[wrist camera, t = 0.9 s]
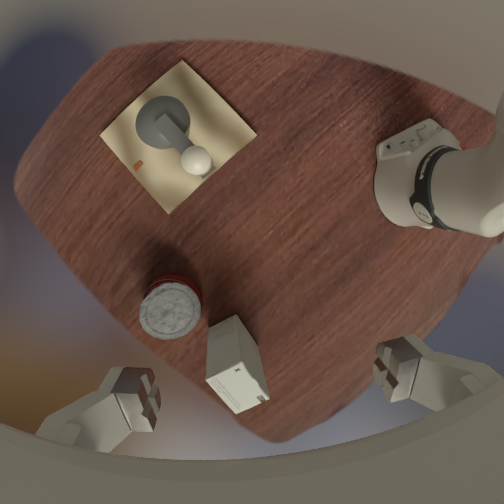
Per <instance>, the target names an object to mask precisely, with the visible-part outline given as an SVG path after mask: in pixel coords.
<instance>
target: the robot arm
mask: <svg viewBox="0 0 504 504" xmlns="http://www.w3.org/2000/svg"><path fill="white" fill-rule="evenodd" d="M463 144H464V146H463V145H462V144H461V143H460V144H459V142H458V141H457V139H456V138H455V137H454V135H453V134H452V133H451V132H449V131H448V130H446V129H444V128H442V127H441V126H440V125H439V124H438V123H436V122H435V121H434V120H432V119H425V120H423V121H421V122H419V123H417V124H415V125H413V126H411V127H409V128H407V129H405V130H403V131H401V132H400V133H398V134H396V135H394V136H392V137H390V138H388V139H386V140H384V141H382V142H380V143H379V144H378V145H377V146H376V156H377V168H376V172H375V178H374V190H375V196H376V200H377V203H378V205H379V207H380V209H381V211H382V212H383V214H384V215H385V216H386V217H387V218H388V219H389V220H390V221H391V222H393V223H395V224H397V225H400V226H405V227H408V226H420V227H422V228H426V229H431V228H432V227H437V228H440V229H445V230H447V231H460V230H462V231H466V232H470V233H473V234H477V235H481V236H485V237H494V236H497V235H499V234H500V233H502V232H503V231H504V92H503V94H502V96H501V98H500V100H499V103H498V106H497V110H496V115H495V131H494V136H493V138H492V140H491V141H490V142H489V143H488V144H487V145H485V146H482V147H478V148H472V149H468V148H467V146H466V145H465V143H463ZM387 145H388V146H389V149H388V148H387ZM375 353H376V354H377V356H378V358H377V359H376V360H375V362H374V366H373V374H374V378H375V381H376V382H377V384H378V385H379V386H382V387H384V390H383V393H384V394H385V396H386V397H387V399H388V400H389V402H390V403H392V402H395V401H399V400H402V399H406V398H409V397H410V398H411V399H413V400H415V401H416V402H418V403H420V404H422V405H424V406H426V407H428V408H430V409H432V410H434V411H436V412H435V413H433V414H430V415H428V416H426V417H423V418H421V419H418V420H416V421H413V422H410V423H408V424H405V425H402V426H400V427H397V428H394V429H391V430H388V431H385V432H381V433H378V434H375V435H371V436H368V437H365V438H361V439H357V440H353V441H350V442H346V443H341V444H337V445H333V446H328V447H324V448H319V449H313V450H308V451H303V452H297V453H290V454H283V455H276V456H267V457H259V458H247V459H232V460H231V459H230V460H169V459H155V458H144V457H134V456H126V455H118V454H112V453H109V452H110V451H111V450H112V449H113V448H114V447H116V445H118V444H119V443H120V442H121V441H122V440H123V439H124V438H125V437H126V436H128V435H129V434H130V433H131V431H143V432H153V431H154V428H155V424H156V420H157V419H156V416H155V414H156V413H157V412H158V411H159V410H160V405H161V397H160V392H159V388H158V387H157V386H156V385H155V384H154V383H153V382H154V379H155V376H154V373H153V370H152V369H151V368H133V367H112V368H111V369H110V371H109V372H108V374H107V376H106V378H105V379H104V381H103V383H102V384H101V386H100V387H99V389H98V391H97V392H94V391H93V392H92V393H90V394H88V395H87V396H84V397H83V398H81V399H79V400H77V401H75V402H74V403H72V404H70V405H68V406H66V407H64V408H62V409H61V410H59V411H57V412H55V413H53V414H51V415H49V416H47V417H46V419H45V420H44V422H43V423H42V425H41V426H40V428H39V430H38V431H37V433H36V434H35V435H32V434H29V433H26V432H23V431H20V430H18V429H15V428H12V427H10V426H7V425H4V424H2V423H0V504H504V377H503V378H502V377H501V376H500V375H499V374H497V373H496V372H495V371H494V370H493V369H491V368H490V367H489V366H488V365H487V364H483V363H479V362H475V361H471V360H466V359H463V358H459V357H454V356H451V355H448V354H443V353H440V352H436V353H434V352H433V351H432V350H431V349H430V348H429V347H428V346H427V345H425V344H424V343H423V342H422V341H421V340H420V339H419V338H418V337H417V336H415V335H414V334H409V335H406V336H402V337H400V338H396V339H392V340H388V341H384V342H380V343H378V344H377V346H376V352H375Z"/></svg>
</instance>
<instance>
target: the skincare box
mask: <svg viewBox="0 0 504 504" xmlns="http://www.w3.org/2000/svg"><path fill="white" fill-rule="evenodd" d="M205 380H206V381H207V382H208V384H209V385H210V386H211V387H212V388H213V389H214V391H215V392H216V393H217V394H218V395H219V396H220V397H221V399H222V400H223V401H224V402H225V403H226V404H227V405H228V406H229V407H230V408H231V409H232V410H233V412H234V413H235V414H237V413H239V412H242V411H244V410H246V409H249V408H251V407H253V406H255V405H258V404H260V403H262V402H264V401H266V400H268V399H270V397H269V393H268V389H267V385H266V380H265V376H264V372H263V367H262V363H261V359H260V354H259V350H258V346H257V344H256V343H255V341H254V340H253V338H252V337H251V335H250V334H249V332H248V331H247V329H246V328H245V326H244V325H243V323H242V322H241V321H240V319H239V317H238V316H237V314H236V315H233V316H231V317H230V318H228V319H226V320H224V321H222V322H220V323H218V324H216V325H214V326H212V327H210V328H209V329H208V345H207V364H206V379H205Z"/></svg>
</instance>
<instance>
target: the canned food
mask: <svg viewBox="0 0 504 504" xmlns="http://www.w3.org/2000/svg"><path fill="white" fill-rule="evenodd" d="M202 305H203V302H202V296H201V293H200V291H199V290H198V288H197V287H196V285H195V284H194V283H193V282H191V281H190V280H189V279H187V278H185V277H183V276H180V275H174V274H171V275H164V276H162V277H159V278H158V279H156V280H155V281H154V282H153V283H152V284H151V286H150V287H149V288H148V289H147V290H146V292H145V294H144V297H143V302H142V304H141V306H140V319H139V320H140V322H141V324H142V327H143V329H144V330H145V331H146V332H147V333H149V334H150V335H151V336H152V337H156V338H160V339H163V340H166V339H176V338H178V337H181V336H183V335H185V334H187V333H188V332H189V331H190V330H192V329H193V328H194V327H195V326H196V325H197V323H198V321H199V319H200V316H201V311H202Z"/></svg>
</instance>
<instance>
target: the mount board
mask: <svg viewBox="0 0 504 504" xmlns="http://www.w3.org/2000/svg"><path fill="white" fill-rule="evenodd" d="M159 96H171V97H175V98H177V99H178V100H180V101H181V102H182V103H183V104H184V106H185V107H186V109H187V111H188V113H189V115H190V129H189V132H188V134H187V135H186V136H187V137H188V138H189V139H190V140H191V141H192V143H193V144H194V145H195V146H201V147H203V148H205V149H206V150H207V151H208V153H209V154H210V156H211V157H212V159H213V165H214V166H215V169H214V170H213V171H212V172H210V173H209V174H208V175H207V176H206V177H205V178H204V179H203V178H202V177H201V176H196V175H194V174H191V173H188V172H187V171H185V170H184V168H183V167H182V164H181V157H182V155H181V154H180V153H179V152H178V151H177V150H176V149H175V148H174V147H172V148H169V149H156V148H153V147H151V146H149V145H147V144H145V143H144V142H143V141H142V140H141V139H140V138H139V136H138V135H137V132H136V127H135V122H136V117H137V114H138V112H139V111H140V109H141V108H142V106H143V105H144V104H145V103H147V102H148V101H149V100H151V99H153V98H155V97H159ZM100 136H101V138H102V139H103V140H104V141H105V142H106V143H107V145H108V146H109V147H110V148H111V149H112V151H113V152H114V153H115V154H116V155H117V156H118V158H119V159H120V160H121V161H122V162H123V163H124V165H125V166H126V167H127V168H128V169H129V170H130V171H131V173H132V174H133V175H134V176H135V177H136V178H137V179H138V181H139V182H140V183H141V184H142V185H143V186H144V187H145V189H146V190H147V191H148V192H149V193H150V194H151V195H152V196H153V198H154V199H155V200H156V201H157V202H158V203H159V204H160V205H161V207H162V208H163V209H164V210H165V211H166V212H167V213H168V214H170V213H171V212H172V211H173V210H174V209H175V208H176V207H177V206H179V205H180V204H181V203H182V202H183V201H184V200H185V199H186V198H187V197H188V196H189V195H190V194H191V193H192V192H193V191H194V190H196V189H197V188H198V187H199V186H200V185H201V184H202V183H203V182H204V181H205V180H207V179H208V178H209V177H210V176H211V175H212V174H213V173H214V172H215V171H217V170H218V169H219V168H220V167H221V166H222V165H223V164H225V163H226V162H227V161H228V160H229V159H230V158H232V157H233V156H234V155H235V154H236V153H237V152H239V151H240V150H241V149H242V148H243V147H244V146H246V145H247V144H248V143H249V142H250V141H252V140H253V139H254V138H255V137H256V136H257V135H256V134H255V133H254V131H253V130H252V129H251V128H250V127H249V126H248V125H247V124H246V123H245V122H244V121H243V120H242V119H241V118H240V116H239V115H238V114H237V113H236V112H235V111H234V110H233V109H232V108H231V107H230V106H229V105H228V104H227V103H226V102H225V101H224V100H223V99H222V98H221V97H220V96H219V95H218V94H217V93H216V92H215V91H214V90H213V89H212V88H211V87H210V86H209V85H208V84H207V83H206V82H205V81H204V80H203V79H202V78H201V77H200V76H199V75H198V74H197V73H196V72H195V71H194V70H192V69H191V68H190V67H189V66H188V65H187V64H186V63H185V62H184V61H183V60H182V61H180V62H179V63H178V64H177V65H175V66H174V67H173V68H171V69H170V70H169V71H168V72H167V73H165V74H164V75H163V76H162V77H160V78H159V79H158V80H157V81H156V82H155V83H153V84H152V85H151V86H150V87H149V88H148V89H147V90H145V91H144V92H143V93H142V94H141V95H140V96H139V97H138V98H137V99H136V100H135V101H133V102H132V103H131V104H130V105H129V106H128V107H127V108H126V109H125V110H124V111H123V112H122V113H121V114H120V115H119V116H118V117H117V118H116V119H115V120H114V121H113V122H112V123H111V124H110V125H109V126H108V127H107V128H106V129H105V131H104V132H103V133H102V134H101V135H100Z"/></svg>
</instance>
